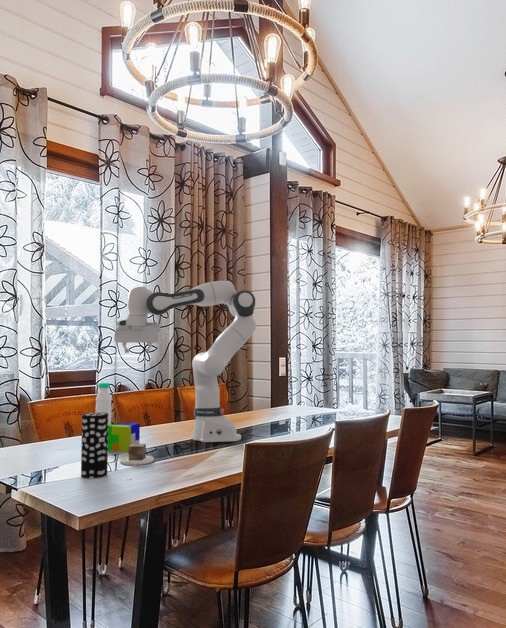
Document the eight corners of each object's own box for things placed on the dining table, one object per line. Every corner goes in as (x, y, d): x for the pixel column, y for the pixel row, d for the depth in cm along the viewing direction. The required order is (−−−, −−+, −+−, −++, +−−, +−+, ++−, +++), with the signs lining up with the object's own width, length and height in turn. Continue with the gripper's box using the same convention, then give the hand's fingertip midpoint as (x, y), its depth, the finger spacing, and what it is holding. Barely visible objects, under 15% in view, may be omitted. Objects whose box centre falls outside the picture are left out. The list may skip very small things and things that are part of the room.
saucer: (157, 458, 197) (157, 455, 197) (149, 465, 185) (149, 462, 185) (125, 457, 197) (125, 455, 197) (116, 465, 185) (116, 462, 185)
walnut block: (145, 457, 193) (145, 443, 194) (142, 460, 188) (142, 446, 189) (132, 457, 194) (132, 443, 194) (128, 460, 189) (128, 446, 189)
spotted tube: (84, 472, 175) (85, 412, 176) (109, 471, 176) (110, 412, 177) (78, 478, 167) (79, 416, 168) (104, 478, 167) (105, 415, 169)
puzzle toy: (139, 447, 216) (139, 423, 217) (126, 452, 207) (126, 427, 207) (118, 445, 220) (119, 422, 220) (104, 450, 210) (105, 425, 211)
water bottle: (113, 436, 241) (114, 382, 242) (107, 439, 234) (108, 383, 235) (98, 436, 242) (99, 382, 243) (92, 438, 235) (93, 383, 236)
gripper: (161, 322, 239) (161, 352, 238) (117, 322, 240) (117, 352, 239) (158, 322, 233) (158, 353, 232) (113, 322, 233) (113, 352, 233)
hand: (137, 352), depth 235 cm, fingers open, 8 cm apart
